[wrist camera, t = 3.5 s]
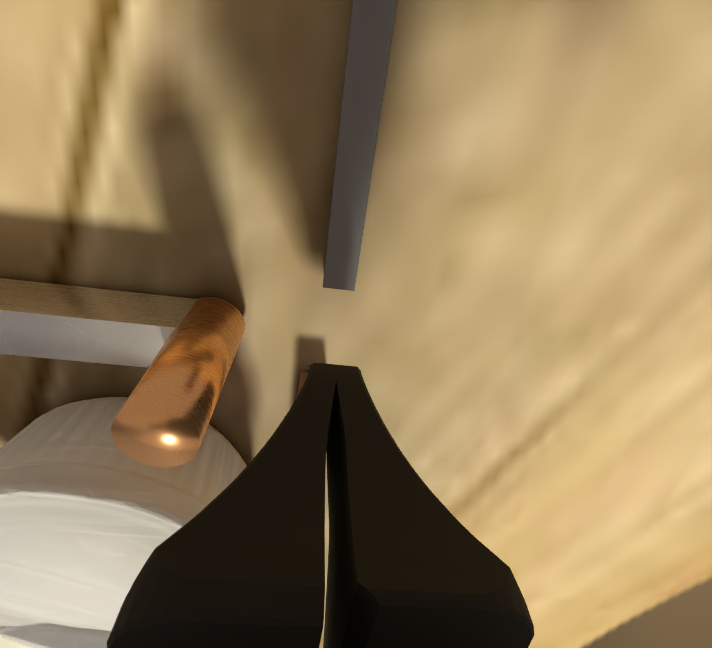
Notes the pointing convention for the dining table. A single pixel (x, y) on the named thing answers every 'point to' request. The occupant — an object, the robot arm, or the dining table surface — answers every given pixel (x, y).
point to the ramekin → (88, 520)
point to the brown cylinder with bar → (133, 355)
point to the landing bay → (357, 136)
